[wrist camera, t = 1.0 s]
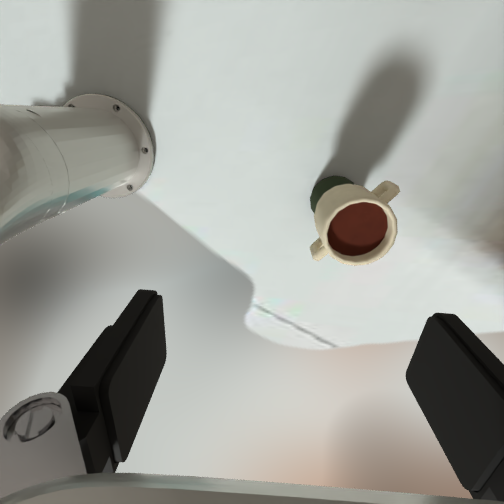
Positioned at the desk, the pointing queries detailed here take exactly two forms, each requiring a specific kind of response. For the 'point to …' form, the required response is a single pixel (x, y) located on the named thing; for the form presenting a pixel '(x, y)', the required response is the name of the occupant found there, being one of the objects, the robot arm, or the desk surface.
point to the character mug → (353, 220)
